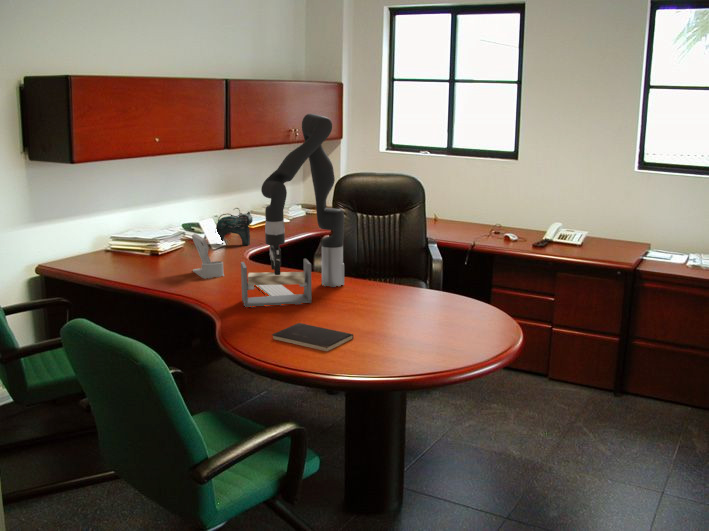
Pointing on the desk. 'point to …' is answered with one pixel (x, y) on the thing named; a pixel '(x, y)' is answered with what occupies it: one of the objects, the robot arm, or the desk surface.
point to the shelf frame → (277, 299)
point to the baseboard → (275, 290)
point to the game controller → (235, 226)
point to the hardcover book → (312, 336)
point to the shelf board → (276, 278)
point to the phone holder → (206, 260)
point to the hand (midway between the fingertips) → (275, 272)
